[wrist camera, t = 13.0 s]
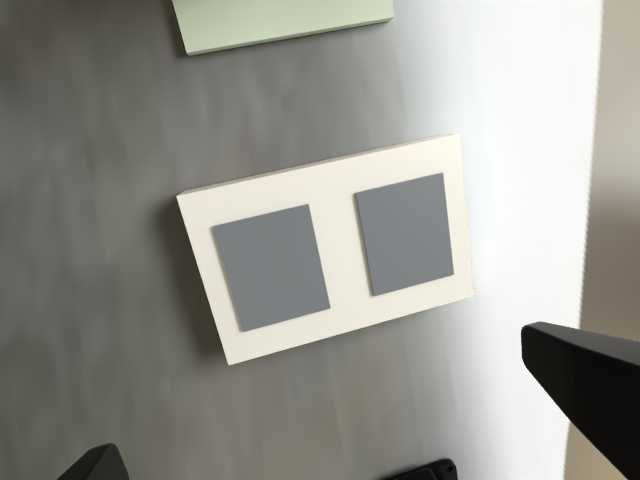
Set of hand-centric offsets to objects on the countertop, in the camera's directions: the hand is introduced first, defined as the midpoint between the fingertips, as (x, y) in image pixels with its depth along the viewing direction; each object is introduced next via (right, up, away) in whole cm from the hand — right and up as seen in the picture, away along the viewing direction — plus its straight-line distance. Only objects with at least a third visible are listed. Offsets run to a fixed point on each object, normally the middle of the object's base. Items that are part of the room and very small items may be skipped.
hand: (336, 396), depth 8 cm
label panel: (0, +3, +13) cm, 13 cm away
